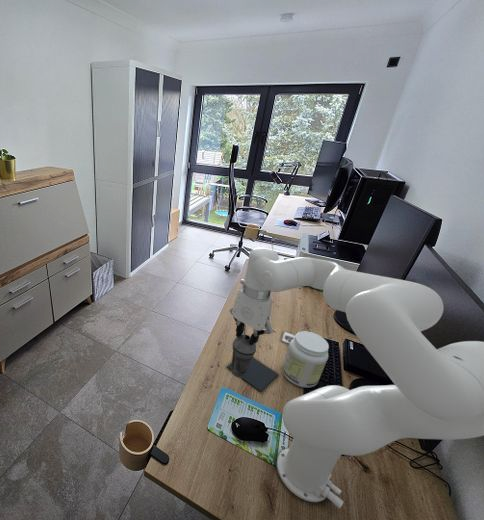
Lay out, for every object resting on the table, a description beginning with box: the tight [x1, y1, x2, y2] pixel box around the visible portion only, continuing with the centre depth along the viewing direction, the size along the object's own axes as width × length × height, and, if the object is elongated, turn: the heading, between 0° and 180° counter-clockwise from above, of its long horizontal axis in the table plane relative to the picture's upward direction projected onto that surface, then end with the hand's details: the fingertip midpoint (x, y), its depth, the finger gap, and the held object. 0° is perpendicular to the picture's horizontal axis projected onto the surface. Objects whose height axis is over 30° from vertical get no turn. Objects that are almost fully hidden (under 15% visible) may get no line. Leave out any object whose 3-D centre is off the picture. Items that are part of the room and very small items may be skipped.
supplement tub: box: [281, 330, 330, 389], centre depth 103 cm, size 12×12×17 cm
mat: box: [226, 356, 279, 393], centre depth 109 cm, size 14×12×1 cm
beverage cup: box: [230, 324, 257, 379], centre depth 94 cm, size 7×7×20 cm
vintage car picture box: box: [281, 331, 296, 345], centre depth 121 cm, size 15×7×4 cm, turn 56°
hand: (246, 338), depth 91 cm, fingers closed on beverage cup, 4 cm apart
